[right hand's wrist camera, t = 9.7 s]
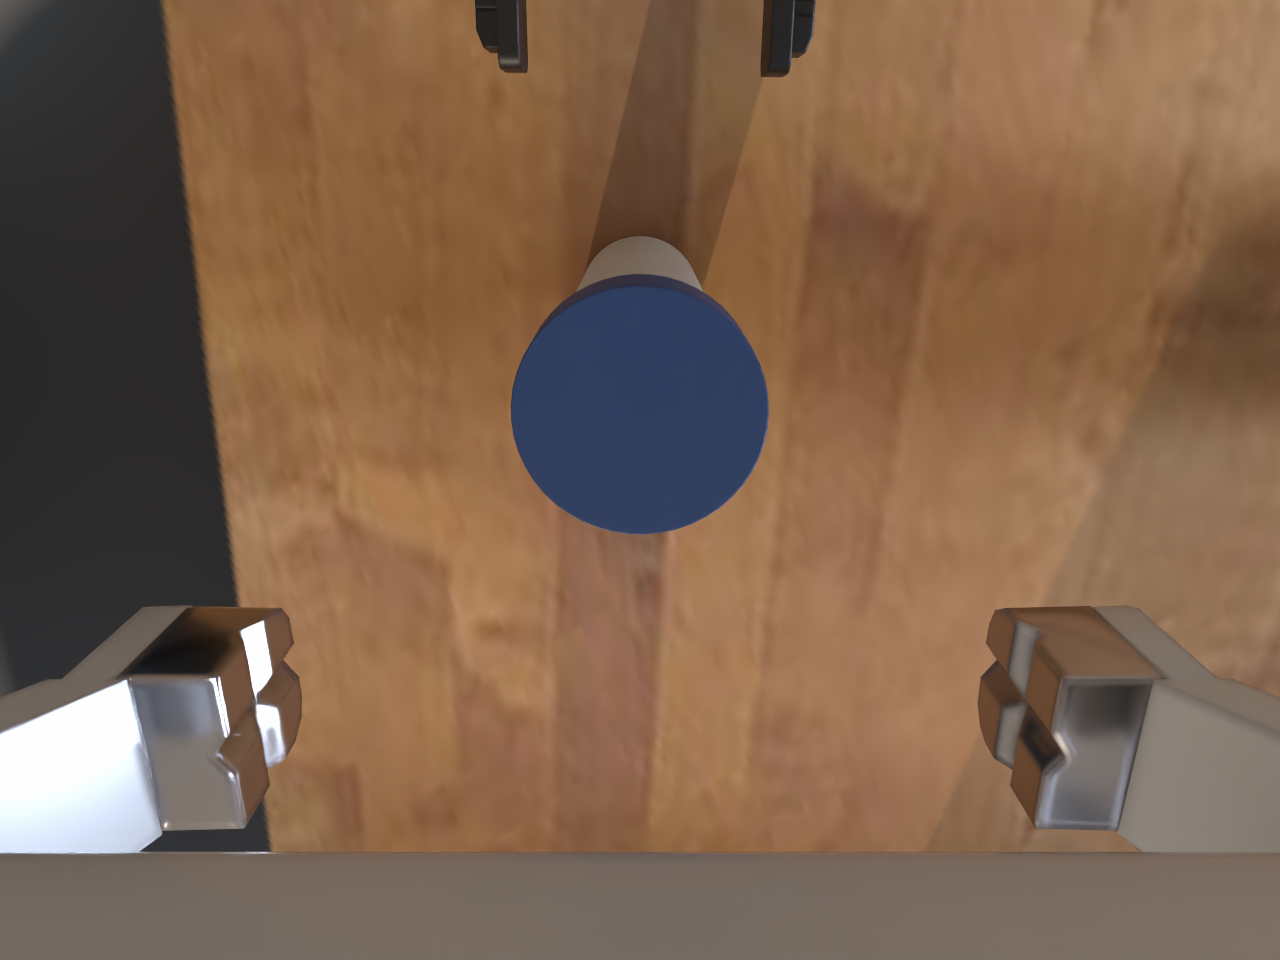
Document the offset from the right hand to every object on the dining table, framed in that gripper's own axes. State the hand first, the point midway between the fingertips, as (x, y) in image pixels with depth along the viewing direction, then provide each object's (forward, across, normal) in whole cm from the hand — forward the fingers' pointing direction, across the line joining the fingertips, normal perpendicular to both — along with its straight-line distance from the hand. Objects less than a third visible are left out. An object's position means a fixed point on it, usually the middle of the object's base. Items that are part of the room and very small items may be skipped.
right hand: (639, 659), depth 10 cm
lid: (+10, 0, 0) cm, 10 cm away
